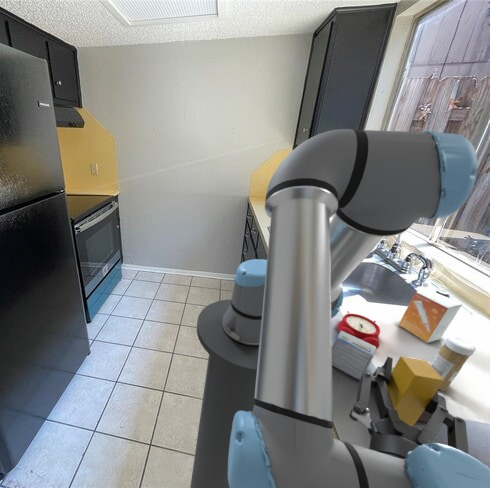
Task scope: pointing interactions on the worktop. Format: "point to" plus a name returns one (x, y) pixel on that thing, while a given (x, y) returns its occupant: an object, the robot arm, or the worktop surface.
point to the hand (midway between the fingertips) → (408, 371)
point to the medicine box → (351, 354)
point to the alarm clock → (360, 328)
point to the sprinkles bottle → (451, 358)
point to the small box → (429, 315)
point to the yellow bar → (412, 387)
